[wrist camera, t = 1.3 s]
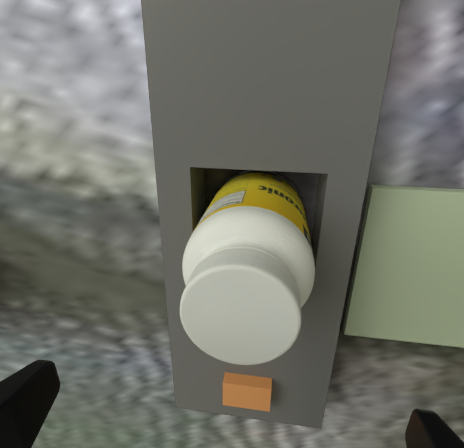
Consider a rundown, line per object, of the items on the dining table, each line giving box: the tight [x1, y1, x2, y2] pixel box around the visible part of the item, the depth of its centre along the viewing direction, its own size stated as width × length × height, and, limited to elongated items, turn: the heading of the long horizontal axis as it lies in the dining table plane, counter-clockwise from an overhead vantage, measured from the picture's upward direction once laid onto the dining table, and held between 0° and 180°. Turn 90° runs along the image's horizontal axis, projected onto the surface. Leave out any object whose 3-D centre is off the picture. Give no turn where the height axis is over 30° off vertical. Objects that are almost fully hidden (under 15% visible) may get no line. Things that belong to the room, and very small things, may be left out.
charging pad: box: [343, 185, 464, 348], centre depth 19 cm, size 10×10×1 cm
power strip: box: [141, 0, 401, 428], centre depth 18 cm, size 28×10×4 cm, turn 179°
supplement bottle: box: [180, 170, 315, 365], centre depth 15 cm, size 5×5×10 cm
